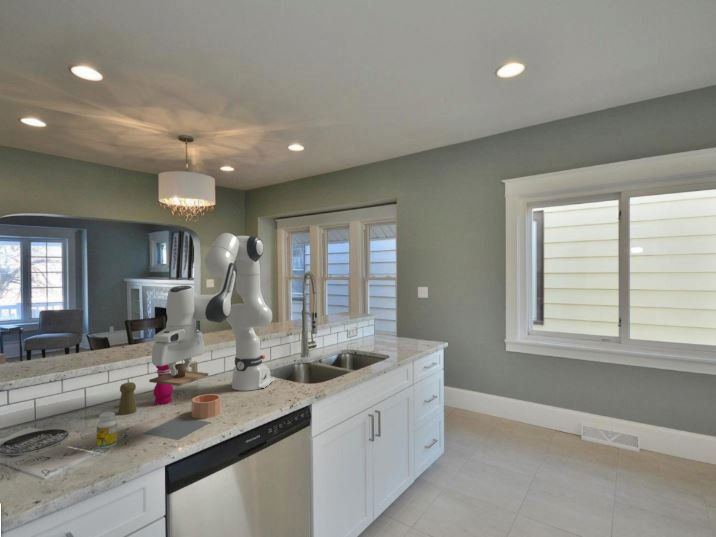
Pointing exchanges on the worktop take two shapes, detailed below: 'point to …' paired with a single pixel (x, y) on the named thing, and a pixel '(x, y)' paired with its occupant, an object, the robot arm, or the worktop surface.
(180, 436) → the mat
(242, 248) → the robot arm
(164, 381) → the lid
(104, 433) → the supplement bottle
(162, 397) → the pepper mill
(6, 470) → the worktop surface
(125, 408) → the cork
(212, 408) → the bowl
